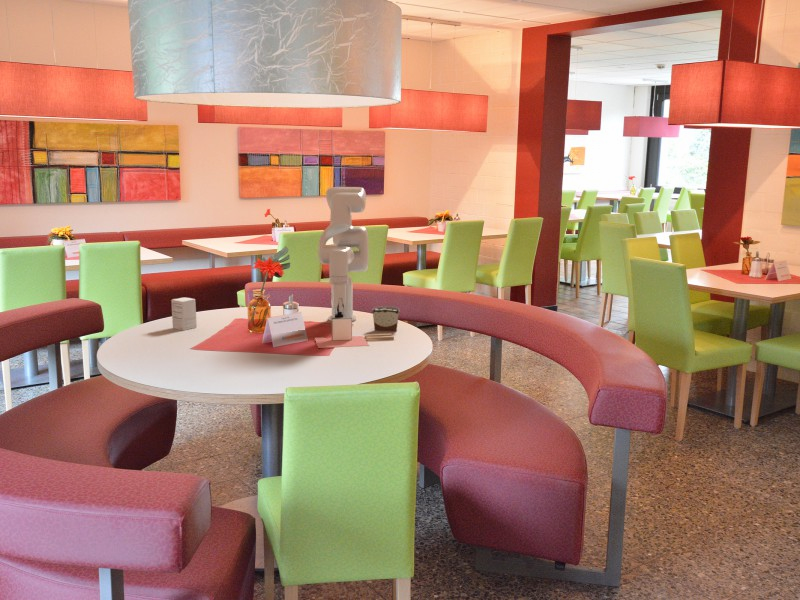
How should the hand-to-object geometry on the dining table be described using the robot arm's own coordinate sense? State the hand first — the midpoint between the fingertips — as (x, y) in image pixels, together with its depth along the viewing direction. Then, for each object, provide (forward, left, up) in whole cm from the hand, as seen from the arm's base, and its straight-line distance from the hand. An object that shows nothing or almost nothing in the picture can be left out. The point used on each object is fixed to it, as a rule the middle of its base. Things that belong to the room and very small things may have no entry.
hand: (339, 323), depth 313 cm
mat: (+7, 0, -6) cm, 9 cm away
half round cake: (-12, +22, -7) cm, 26 cm away
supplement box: (-30, -63, -7) cm, 70 cm away
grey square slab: (+4, -3, -1) cm, 5 cm away
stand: (+4, +16, -6) cm, 18 cm away
